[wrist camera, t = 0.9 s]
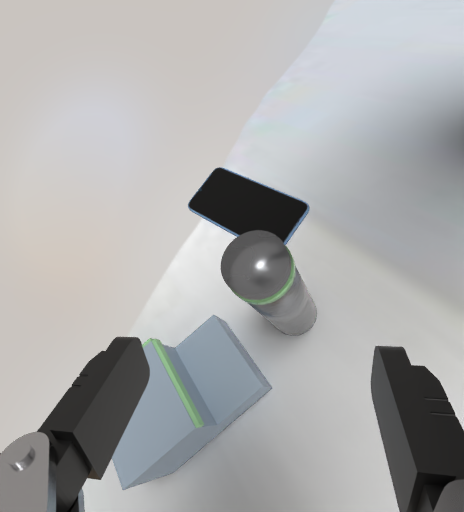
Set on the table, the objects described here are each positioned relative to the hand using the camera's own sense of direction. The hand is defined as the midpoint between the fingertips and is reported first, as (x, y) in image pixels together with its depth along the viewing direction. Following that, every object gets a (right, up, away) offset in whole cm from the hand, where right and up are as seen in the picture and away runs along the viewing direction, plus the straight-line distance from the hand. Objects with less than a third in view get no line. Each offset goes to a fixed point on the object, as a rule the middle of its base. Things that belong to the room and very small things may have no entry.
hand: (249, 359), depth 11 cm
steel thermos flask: (+5, -2, +20) cm, 21 cm away
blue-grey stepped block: (-4, -10, +20) cm, 23 cm away
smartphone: (+1, +9, +28) cm, 29 cm away
